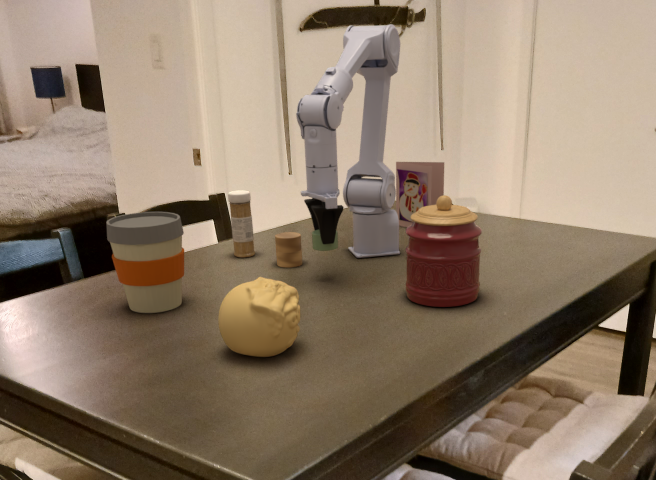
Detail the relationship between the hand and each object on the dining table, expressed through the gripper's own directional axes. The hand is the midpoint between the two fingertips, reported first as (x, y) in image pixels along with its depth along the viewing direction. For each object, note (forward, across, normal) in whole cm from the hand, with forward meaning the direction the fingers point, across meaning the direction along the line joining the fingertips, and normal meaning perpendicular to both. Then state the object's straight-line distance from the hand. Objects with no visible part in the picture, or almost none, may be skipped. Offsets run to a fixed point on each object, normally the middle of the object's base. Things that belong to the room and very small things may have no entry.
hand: (325, 240), depth 143 cm
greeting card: (+8, -35, +31) cm, 47 cm away
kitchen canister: (+8, +17, +17) cm, 26 cm away
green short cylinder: (+1, 0, 0) cm, 1 cm away
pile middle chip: (+5, -13, -5) cm, 14 cm away
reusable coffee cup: (+8, +5, -32) cm, 33 cm away
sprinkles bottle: (+8, -23, -13) cm, 27 cm away
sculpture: (+8, +32, -17) cm, 37 cm away
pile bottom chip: (+8, -13, -5) cm, 16 cm away
